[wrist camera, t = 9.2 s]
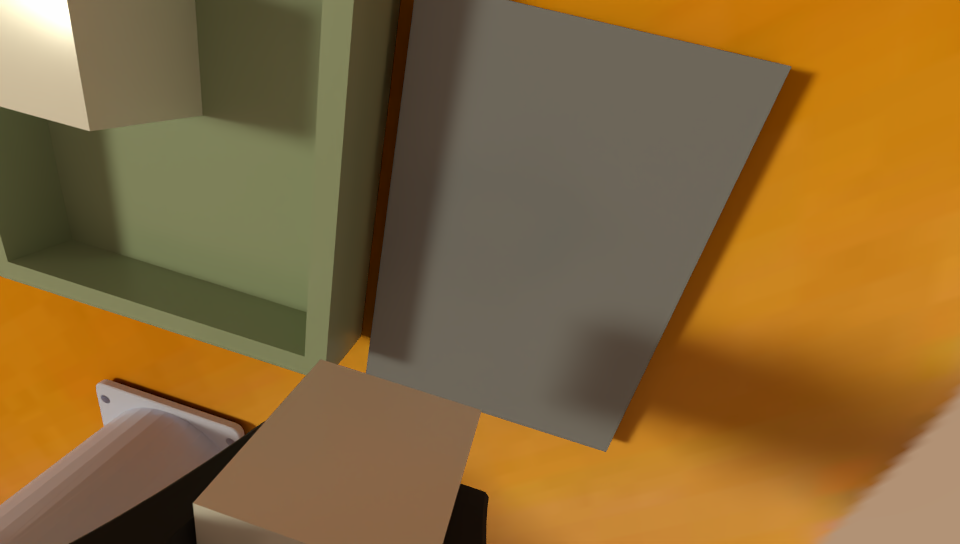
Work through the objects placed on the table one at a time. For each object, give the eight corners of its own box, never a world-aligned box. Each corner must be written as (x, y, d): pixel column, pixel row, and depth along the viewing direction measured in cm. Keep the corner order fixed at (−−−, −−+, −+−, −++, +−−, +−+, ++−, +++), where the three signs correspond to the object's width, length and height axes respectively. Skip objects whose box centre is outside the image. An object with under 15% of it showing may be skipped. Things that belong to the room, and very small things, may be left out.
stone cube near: (449, 520, 12) (395, 706, 9) (312, 472, 13) (206, 633, 9) (481, 410, 11) (429, 587, 7) (320, 358, 11) (192, 502, 7)
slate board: (605, 436, 18) (605, 451, 18) (373, 363, 19) (365, 375, 19) (779, 66, 12) (791, 66, 12) (426, -17, 13) (417, -21, 12)
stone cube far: (202, 115, 16) (89, 131, 12) (99, 88, 16) (-40, 95, 12) (193, -21, 14) (58, -49, 10) (77, -48, 14) (-92, -85, 11)
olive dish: (361, 335, 19) (324, 380, 16) (73, 246, 20) (-5, 274, 17) (407, -55, 13) (360, -86, 10) (-10, -150, 14) (-149, -199, 11)
